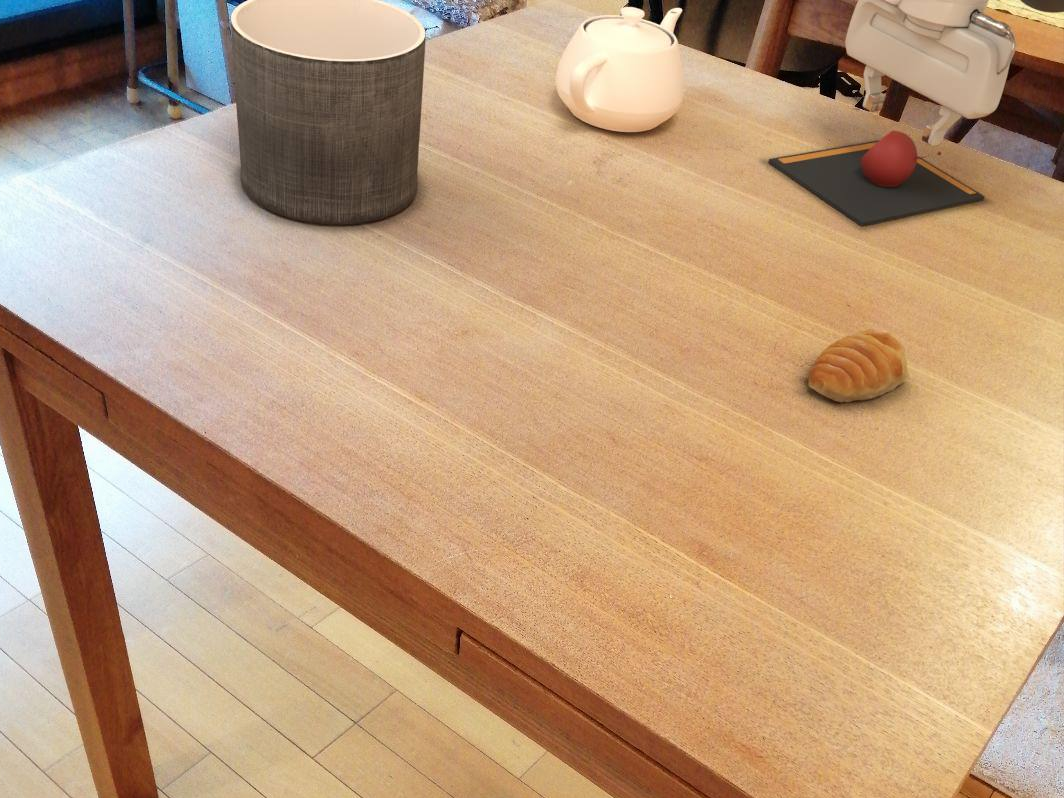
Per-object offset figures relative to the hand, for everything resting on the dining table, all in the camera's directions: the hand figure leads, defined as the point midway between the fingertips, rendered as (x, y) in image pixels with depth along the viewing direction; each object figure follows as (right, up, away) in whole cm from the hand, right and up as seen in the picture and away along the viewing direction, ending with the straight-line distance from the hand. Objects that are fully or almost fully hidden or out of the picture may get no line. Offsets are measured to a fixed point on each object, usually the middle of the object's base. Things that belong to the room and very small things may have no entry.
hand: (900, 125), depth 123 cm
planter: (-63, -11, -12) cm, 64 cm away
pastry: (-13, -33, -27) cm, 45 cm away
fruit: (0, -5, +3) cm, 6 cm away
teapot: (-31, +5, +10) cm, 33 cm away
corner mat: (-1, -5, +5) cm, 7 cm away
